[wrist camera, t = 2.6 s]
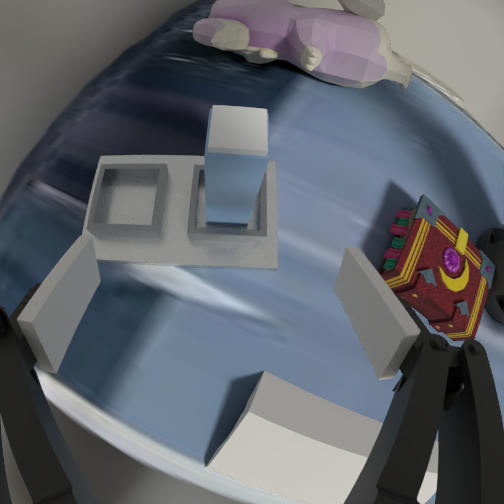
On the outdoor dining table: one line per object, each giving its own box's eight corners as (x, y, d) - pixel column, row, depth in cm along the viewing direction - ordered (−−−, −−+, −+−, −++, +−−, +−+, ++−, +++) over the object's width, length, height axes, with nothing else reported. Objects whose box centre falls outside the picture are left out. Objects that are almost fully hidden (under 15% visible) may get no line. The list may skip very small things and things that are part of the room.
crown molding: (204, 465, 24) (204, 480, 21) (262, 368, 28) (269, 373, 24) (403, 515, 23) (417, 525, 20) (447, 442, 27) (464, 447, 24)
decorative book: (451, 343, 30) (478, 341, 26) (363, 274, 31) (387, 263, 27) (474, 272, 34) (498, 264, 29) (397, 202, 35) (419, 185, 30)
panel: (273, 166, 33) (279, 151, 30) (275, 270, 30) (282, 263, 27) (103, 161, 31) (95, 146, 28) (82, 261, 27) (70, 252, 24)
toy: (371, 74, 48) (222, 42, 47) (394, 2, 34) (232, -35, 33) (417, 149, 31) (169, 95, 30) (470, 30, 17) (176, -46, 16)
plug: (248, 184, 31) (269, 99, 19) (247, 227, 29) (270, 154, 17) (209, 181, 30) (211, 94, 18) (206, 224, 29) (204, 149, 17)
